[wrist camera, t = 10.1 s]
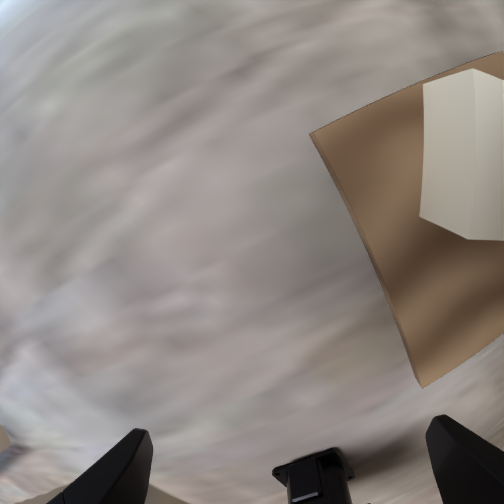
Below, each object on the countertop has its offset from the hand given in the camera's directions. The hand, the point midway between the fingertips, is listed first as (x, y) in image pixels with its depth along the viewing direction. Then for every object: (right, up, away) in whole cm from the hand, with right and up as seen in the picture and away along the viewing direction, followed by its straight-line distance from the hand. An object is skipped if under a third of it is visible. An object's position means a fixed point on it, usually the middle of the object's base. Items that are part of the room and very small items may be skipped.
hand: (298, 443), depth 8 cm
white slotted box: (+11, +11, +7) cm, 18 cm away
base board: (+14, +8, +10) cm, 19 cm away
